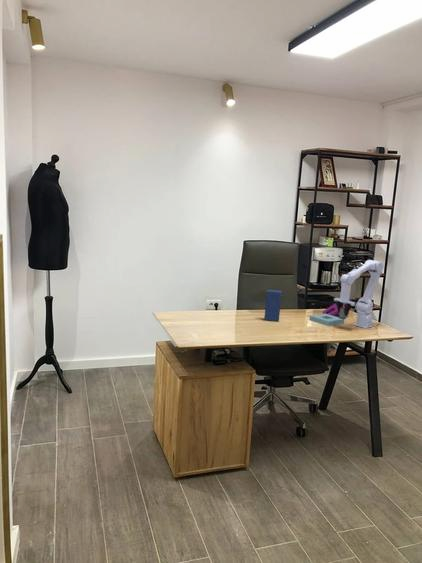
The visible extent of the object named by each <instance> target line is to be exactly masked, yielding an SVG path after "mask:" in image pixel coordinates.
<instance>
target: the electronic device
mask: <svg viewBox="0 0 422 563" xmlns="http://www.w3.org/2000/svg"><path fill="white" fill-rule="evenodd" d="M282 292H283V291H282V290H279V289H277V290H276V289H275V290H274V289H266V295H265V296H266V298H265V308H264V318H263V319H264V321H269V322H280V313H281V304H282V296H283V295H282Z"/></svg>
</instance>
